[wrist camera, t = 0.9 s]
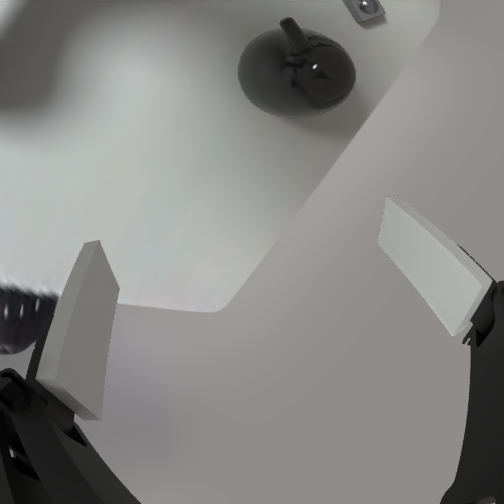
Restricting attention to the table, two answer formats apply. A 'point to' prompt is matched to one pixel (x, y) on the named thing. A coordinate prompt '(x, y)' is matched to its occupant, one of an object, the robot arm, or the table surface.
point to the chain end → (364, 9)
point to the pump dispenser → (295, 72)
